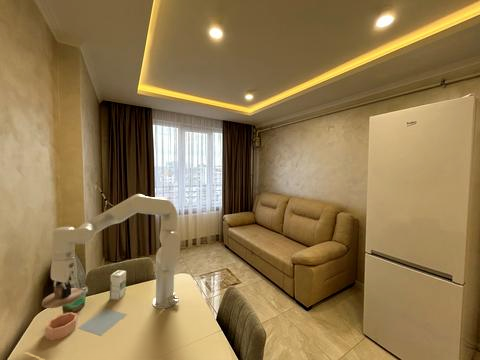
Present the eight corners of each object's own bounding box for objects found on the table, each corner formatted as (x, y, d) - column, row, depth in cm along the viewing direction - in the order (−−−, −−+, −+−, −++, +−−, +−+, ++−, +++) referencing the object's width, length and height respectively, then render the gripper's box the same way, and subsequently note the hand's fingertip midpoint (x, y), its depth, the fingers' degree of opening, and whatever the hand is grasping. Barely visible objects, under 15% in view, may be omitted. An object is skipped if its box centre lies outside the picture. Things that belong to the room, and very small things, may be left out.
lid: (88, 293, 92) (88, 280, 92) (55, 311, 80) (56, 296, 80) (68, 287, 96) (68, 275, 96) (34, 304, 83) (34, 290, 83)
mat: (127, 315, 99) (127, 314, 99) (100, 337, 86) (100, 335, 86) (105, 309, 103) (105, 308, 103) (77, 329, 90) (77, 327, 90)
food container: (69, 319, 95) (70, 299, 95) (59, 317, 96) (60, 297, 96) (93, 303, 107) (93, 285, 107) (84, 301, 108) (84, 284, 108)
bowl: (82, 325, 92) (82, 315, 91) (57, 343, 82) (57, 331, 82) (66, 320, 94) (66, 310, 94) (40, 337, 85) (40, 325, 84)
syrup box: (116, 293, 117) (116, 269, 116) (125, 294, 116) (126, 270, 116) (109, 299, 111) (110, 274, 111) (119, 300, 111) (120, 275, 110)
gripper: (86, 254, 89) (85, 294, 89) (60, 249, 93) (59, 287, 94) (67, 261, 82) (66, 304, 82) (40, 255, 86) (39, 296, 86)
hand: (62, 294), depth 88 cm, fingers closed on lid, 4 cm apart
